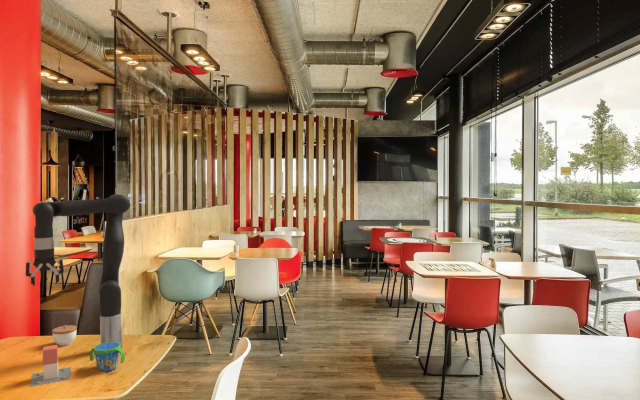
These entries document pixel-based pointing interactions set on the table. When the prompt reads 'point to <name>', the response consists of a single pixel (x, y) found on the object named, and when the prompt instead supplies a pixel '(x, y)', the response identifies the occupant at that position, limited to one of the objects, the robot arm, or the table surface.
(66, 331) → the lidded jar
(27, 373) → the table surface
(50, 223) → the robot arm
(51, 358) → the red brick
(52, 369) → the cream brick
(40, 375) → the base plate
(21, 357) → the table surface
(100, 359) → the snack cup
